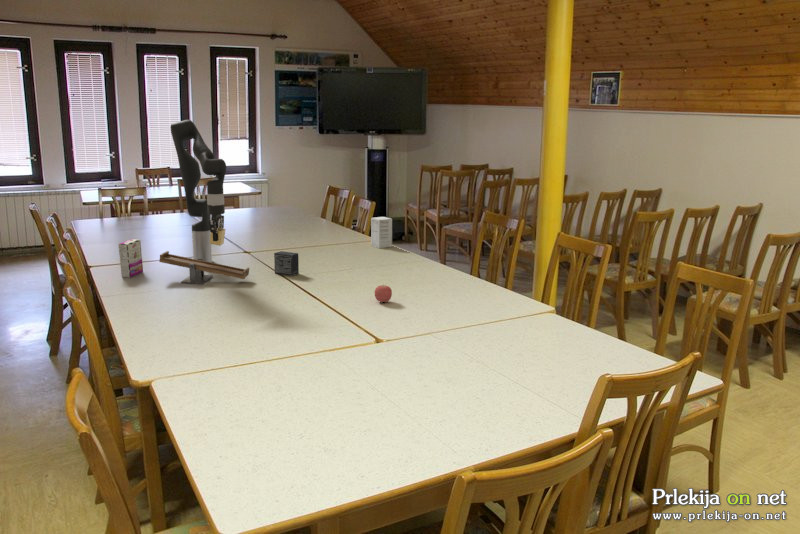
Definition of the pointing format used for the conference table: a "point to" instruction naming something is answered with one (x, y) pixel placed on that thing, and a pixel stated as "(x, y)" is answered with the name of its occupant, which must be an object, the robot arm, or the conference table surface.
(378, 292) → the apple
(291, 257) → the small box
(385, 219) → the supplement box
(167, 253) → the beam
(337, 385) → the conference table surface
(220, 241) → the wooden block
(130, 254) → the candy bar box
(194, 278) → the pivot stand
